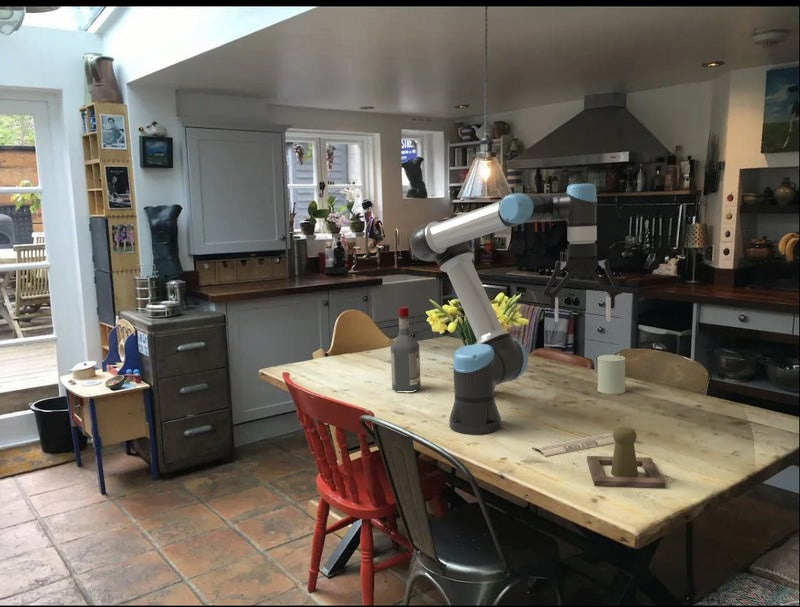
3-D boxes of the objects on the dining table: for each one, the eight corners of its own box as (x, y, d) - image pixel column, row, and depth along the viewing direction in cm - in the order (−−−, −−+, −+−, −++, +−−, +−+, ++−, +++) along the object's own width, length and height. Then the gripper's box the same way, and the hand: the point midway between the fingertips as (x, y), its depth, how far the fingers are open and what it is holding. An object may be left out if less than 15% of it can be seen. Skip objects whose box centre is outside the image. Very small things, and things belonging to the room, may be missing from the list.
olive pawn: (620, 480, 145) (621, 434, 144) (605, 471, 151) (605, 426, 150) (643, 476, 147) (644, 430, 146) (627, 467, 153) (628, 423, 151)
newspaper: (605, 437, 175) (605, 431, 175) (623, 445, 169) (623, 439, 169) (531, 452, 167) (531, 445, 167) (547, 461, 161) (547, 454, 160)
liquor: (390, 392, 227) (387, 309, 224) (398, 386, 236) (395, 305, 232) (415, 393, 225) (412, 309, 221) (422, 387, 233) (419, 305, 229)
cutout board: (594, 485, 143) (594, 480, 143) (586, 460, 158) (586, 455, 158) (665, 488, 141) (665, 482, 140) (650, 462, 155) (650, 457, 155)
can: (625, 395, 213) (625, 359, 211) (596, 393, 216) (596, 358, 214) (625, 387, 221) (625, 353, 220) (597, 386, 224) (597, 353, 223)
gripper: (628, 240, 172) (628, 318, 175) (533, 243, 176) (534, 319, 179) (633, 241, 164) (633, 322, 167) (534, 244, 169) (535, 323, 172)
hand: (582, 321), depth 173 cm, fingers open, 13 cm apart
